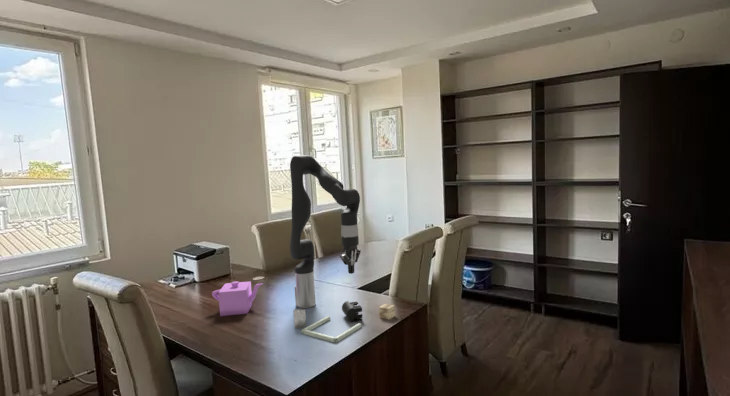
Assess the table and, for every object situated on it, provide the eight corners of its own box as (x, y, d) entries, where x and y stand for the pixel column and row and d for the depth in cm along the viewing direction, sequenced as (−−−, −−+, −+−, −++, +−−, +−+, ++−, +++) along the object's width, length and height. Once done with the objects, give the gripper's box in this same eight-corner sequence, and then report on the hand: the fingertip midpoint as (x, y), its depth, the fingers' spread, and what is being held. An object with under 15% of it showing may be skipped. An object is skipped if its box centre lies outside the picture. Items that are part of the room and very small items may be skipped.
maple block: (379, 317, 180) (379, 307, 179) (385, 314, 184) (384, 303, 183) (389, 319, 177) (388, 308, 176) (394, 316, 181) (394, 305, 181)
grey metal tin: (292, 327, 174) (291, 311, 173) (300, 323, 178) (299, 308, 177) (300, 329, 171) (299, 313, 170) (308, 325, 175) (307, 309, 174)
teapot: (263, 312, 194) (261, 284, 193) (209, 317, 191) (207, 288, 190) (266, 301, 209) (264, 275, 208) (216, 306, 206) (214, 279, 205)
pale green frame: (301, 333, 167) (301, 329, 167) (328, 319, 181) (328, 316, 181) (335, 342, 156) (335, 339, 156) (361, 327, 170) (361, 323, 170)
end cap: (342, 315, 184) (341, 301, 184) (356, 313, 186) (356, 299, 186) (347, 323, 175) (346, 308, 174) (362, 321, 177) (362, 306, 176)
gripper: (351, 231, 183) (353, 268, 184) (333, 236, 172) (335, 276, 173) (365, 232, 178) (366, 270, 180) (347, 238, 168) (349, 278, 169)
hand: (351, 273), depth 177 cm, fingers closed
